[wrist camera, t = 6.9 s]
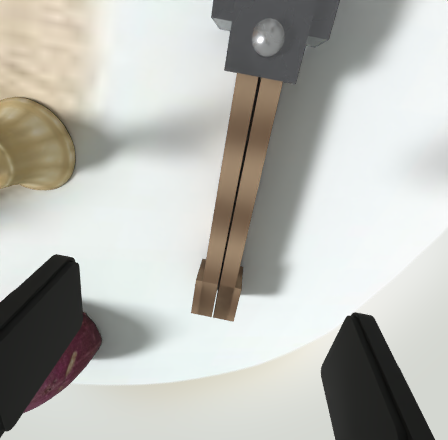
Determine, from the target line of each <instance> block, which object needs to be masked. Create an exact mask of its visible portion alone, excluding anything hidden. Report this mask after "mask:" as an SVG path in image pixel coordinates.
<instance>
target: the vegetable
mask: <svg viewBox="0 0 448 440" xmlns="http://www.w3.org/2000/svg"><path fill="white" fill-rule="evenodd" d="M101 343H102V338H101V335H100V333H99V331H98V329H97V327H96V325H95V324H94V322H93V321H92V320H91V319H90V318H89V317H88V316H87V314H86V313H84V312H83V322H82V326H81V328H80V330H79V331H78V333H77V334H76V336H75V337H74V339H73V340H72V342H71V343H70V344H69V346H68V347H67V349H66V350H65V352H64V353H63V355H62V356H61V358H60V359H59V361H58V362H57V364H56V365H55V367H54V368H53V370H52V371H51V373H50V374H49V375H48V377H47V378H46V380H45V381H44V383H43V384H42V386H41V387H40V389H39V390H38V392H37V393H36V395H35V396H34V398H33V399H32V401H31V402H30V404H29V405H28V406H27V408H26V409H25V411H24V412H23V413H25V412H27V411H30V410H32V409H34V408H36V407H38V406H40V405H41V404H43V403H45V402H46V401H48V400H49V399H51V398H52V397H53V396H55V395H56V394H58V393H59V392H61V391H62V390H63V389H64V388H66V387H67V386H68V385H69V384H70V383H71V382H72V381H73V380H74V379H75V378H76V377H77V376H78V375H79V374H80V373H81V371H82V370H83V369H84V368H85V367H86V366H87V364H88V363H89V362H90V360H91V359H92V358H93V356H94V355H95V353H96V352H97V350H98V349H99V347H100V346H101Z"/></svg>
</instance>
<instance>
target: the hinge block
mask: <svg viewBox="0 0 448 440" xmlns="http://www.w3.org/2000/svg"><path fill="white" fill-rule="evenodd" d="M339 2H340V0H213V8H212V16H211V18H212V19H213V21H214V22H215V23H216V25H217V26H218V27H219V29H222V30H227V31H230V37H229V43H228V50H227V56H226V63H225V69H224V70H225V71H230V72H235V73H240V74H245V75H251V76H256V77H261V78H266V79H271V80H277V81H282V82H287V83H292V84H296V81H297V77H298V73H299V69H300V65H301V62H302V58H303V54H304V50H305V46H311V47H316V46H318V45H320V44H322V43H324V42H326V41H327V40H329V37H330V33H331V30H332V26H333V23H334V19H335V16H336V12H337V9H338V5H339Z"/></svg>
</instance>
